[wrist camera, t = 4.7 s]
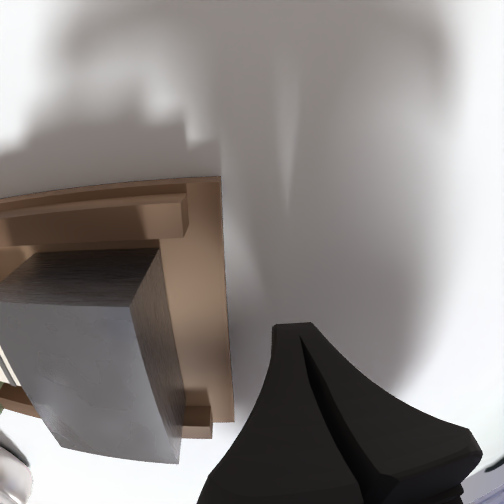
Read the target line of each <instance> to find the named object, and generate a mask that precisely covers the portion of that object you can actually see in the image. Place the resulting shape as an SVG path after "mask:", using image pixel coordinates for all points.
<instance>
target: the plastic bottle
mask: <svg viewBox="0 0 504 504" xmlns="http://www.w3.org/2000/svg"><path fill="white" fill-rule="evenodd" d="M32 486H33V478H32V474H31V471H30V470H29V468H28V467H27V466H26V465H25V464H24V463H23V462H21V461H20V460H19V459H18V458H16V457H15V456H14V455H12V454H11V453H10V452H8V451H7V450H5V449H4V448H2V447H0V503H3V504H26V502H27V500H28V499H29V497H30V495H31V493H32Z"/></svg>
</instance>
